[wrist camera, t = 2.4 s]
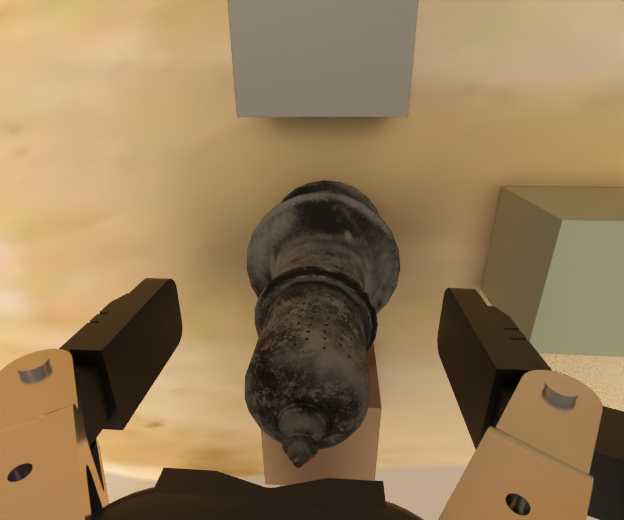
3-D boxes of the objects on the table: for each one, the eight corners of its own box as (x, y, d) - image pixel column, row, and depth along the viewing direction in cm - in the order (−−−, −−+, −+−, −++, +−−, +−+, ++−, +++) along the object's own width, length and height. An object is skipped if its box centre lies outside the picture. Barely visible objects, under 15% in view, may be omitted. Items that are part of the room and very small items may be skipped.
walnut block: (372, 336, 20) (381, 408, 15) (367, 408, 22) (373, 491, 17) (278, 332, 20) (258, 401, 16) (281, 403, 22) (265, 483, 18)
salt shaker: (306, 311, 19) (259, 591, 8) (239, 216, 18) (67, 414, 7) (411, 257, 18) (522, 518, 7) (349, 147, 16) (362, 258, 5)
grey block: (399, -41, 13) (428, -111, 9) (388, 110, 15) (407, 117, 11) (260, -36, 14) (219, -101, 9) (268, 111, 16) (237, 117, 11)
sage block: (623, 186, 16) (736, 223, 11) (589, 292, 18) (673, 358, 13) (500, 185, 16) (562, 219, 12) (480, 288, 18) (526, 352, 14)
